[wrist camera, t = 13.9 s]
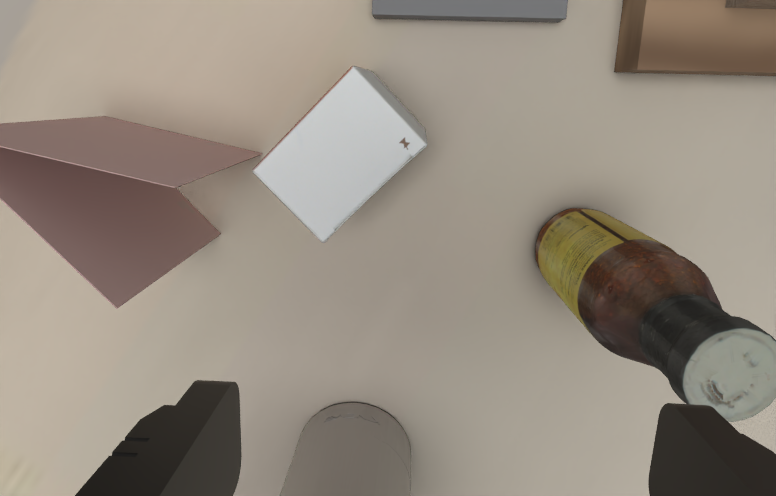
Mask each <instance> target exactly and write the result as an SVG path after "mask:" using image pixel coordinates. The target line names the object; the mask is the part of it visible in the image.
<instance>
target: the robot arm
mask: <svg viewBox="0 0 776 496" xmlns="http://www.w3.org/2000/svg"><path fill="white" fill-rule="evenodd" d="M240 467H241V428H240V398H239V388H238V385H237V383H236V382H223V381H202V380H196V381H195V382H194V383H193V384H192V385H191V386H190V388H189V389H188V390H187V392H186V393H185V394H184V395H183V397H182V398H181V399H180V400H179V402H178V403H177V404H176V406H172V405H164V406H162V407H160V408H159V409H157V410H155V411H154V412H152V413H150V414H149V415H147V416H145V417H144V418H142V419H140V421H139V422H138V423H137V424H136V425H135V426H134V428H133V429H132V430H131V431H130V432H129V433H128V435H127V436H126V437H125V441H122V442H121V443H120V444H119V445H118V446H117V447H116V449H115V450H114V451H113V452H112V456H109V457H108V458H107V459H106V460H105V461H104V462H103V464H102V465H101V466H100V467H99V468H98V469H97V471H96V472H95V473H94V474H93V475H92V476H91V478H90V479H89V480H88V481H87V482H86V483H85V485H84V486H83V487H82V488H81V489H80V490H79V492H78V493H77V494H76V495H75V496H233V494H234V492H235V489H236V486H237V483H238V479H239V474H240ZM410 485H411V449H410V444H409V440H408V438H407V435H406V433H405V431H404V430H403V428H402V427H401V426H400V424H399V423H398V422H397V421H396V420H395V419H394V418H393V417H392V416H390V415H389V414H388V413H386V412H384V411H382V410H381V409H379V408H376V407H373V406H370V405H367V404H361V403H342V404H337V405H333V406H330V407H328V408H326V409H324V410H322V411H320V412H319V413H318V414H316V415H315V416H314V417H312V418H311V420H310V421H309V422H308V423H307V424H306V426H305V427H304V429H303V431H302V434H301V436H300V439H299V442H298V445H297V447H296V450H295V453H294V456H293V459H292V462H291V465H290V467H289V470H288V473H287V476H286V479H285V482H284V485H283V488H282V491H281V494H280V496H410ZM649 494H650V496H776V454H775V453H774V452H773V451H771V450H769V449H767V448H766V447H764V446H762V445H761V444H759V443H757V442H756V441H754V440H752V439H751V438H749V437H747V436H745V435H744V434H740V433H739V432H738V431H737V430H736V429H735V428H734V427H733V426H732V425H731V424H730V423H729V422H728V421H727V420H726V419H725V418H723V417H722V416H721V415H720V414H719V413H718V412H717V411H716V410H715V409H714V408H713V407H711V406H709V405H694V404H672V403H667V404H665V405H664V406H663V407H662V409H661V411H660V414H659V418H658V424H657V430H656V436H655V442H654V448H653V454H652V460H651V466H650V472H649Z"/></svg>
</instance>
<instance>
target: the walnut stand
mask: <svg viewBox="0 0 776 496" xmlns="http://www.w3.org/2000/svg"><path fill="white" fill-rule="evenodd" d="M725 4H726V0H623V7H622V15H621V23H620V31H619V39H618V47H617V55H616V63H615V71H614V72H631V73H673V74H714V75H755V76H776V9H751V8H725Z"/></svg>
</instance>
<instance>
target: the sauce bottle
mask: <svg viewBox="0 0 776 496" xmlns="http://www.w3.org/2000/svg"><path fill="white" fill-rule="evenodd" d="M535 253H536V261H537V264H538V267H539V268H540V271H541V273H542V275H543V277H544V279H545V280H546V281H547V283H548V284H549V285H550V286H551V288H552V289H553V290H554V291H555V292H556V293H557V295H558V296H559V297H560V298H561V299H562V300H563V301H564V303H565V304H566V305H567V306H568V308H569V309H570V310H571V311H572V312H573V314H574V315H575V316H576V317H577V318H578V319H579V320H580V322H581V323H582V324H583V325H584V326H585V327H586V329H587V330H588V331H589V332H590V333H591V334H592V336H593V337H594V338H595V339H596V340H597V341H598V342H599V343H600V344H601V345H602V346H604V347H605V348H607V349H608V350H609V351H611V352H613V353H615V354H617V355H619V356H621V357H624V358H627V359H631V360H634V361H637V362H640V363H644V364H647V365H650V366H653V367H656V368H657V369H659V370H660V371H661V372H662V373H663V374H664V375H665V376H666V377H667V378H668V380H669V382H670V385H671V387H672V389H673V390H674V392H675V393H676V394H677V396H678V397H679V398H680V399H681V400H683V401H684V402H685V403H686V404H694V405H709V406H711V407H713V408H714V409H715V410H716V411H717V412H718V413H719V414H720V415H721V416H722V417H723V418H725V419H726V420H727V421H730V422H734V421H740V420H744V419H747V418H750V417H753V416H754V415H756V414H758V413H759V412H761V411H762V410H763V409H765V408H766V407H767V406H769V405H770V404H771V403H772V402H773V400H774V399H775V398H776V340H775V339H774V338H773V337H772V336H771V335H770V334H768V333H766V332H765V331H763V330H762V329H761V328H759V327H758V326H756V325H754V324H753V323H751V322H749V321H748V320H745V319H743V318H740V317H735V316H734V317H732V316H730V315H729V314H728V313H726V312H725V311H723V310H722V307H721V305H720V302H719V300H718V298H717V296H716V294H715V292H714V290H713V287H712V285H711V283H710V281H709V279H708V277H707V276H706V274H705V273H704V272H703V271H702V270H701V269H700V268H699V267H698V266H697V265H695V264H693V263H692V262H691V261H689V260H688V259H686V258H685V257H683V256H680V255H678V254H677V253H676V252H674V251H673V250H672V249H671V248H669V247H668V246H666V245H664V244H662V243H660V242H658V241H656V240H654V239H653V238H651V237H649V236H647V235H645V234H643V233H641V232H639V231H638V230H636V229H634V228H632V227H630V226H628V225H626V224H624V223H622V222H621V221H619V220H617V219H615V218H613V217H611V216H609V215H607V214H605V213H603V212H600V211H596V210H590V209H583V208H580V209H577V208H573V209H568V210H565V211H563V212H560V213H558V214H557V215H555V216H554V217H553V218H552V219H551V220H550V221H549V222H547V223H546V224H545V226H544V227H543V228H542V229H541V231H540V232H539V236H538V238H537V243H536V248H535Z"/></svg>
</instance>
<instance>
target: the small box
mask: <svg viewBox="0 0 776 496" xmlns="http://www.w3.org/2000/svg"><path fill="white" fill-rule="evenodd" d="M426 147H427V138H426V131H425V128H424V127H423V126H422V125H421V124H420V123H419V122H418V121H417V119H416V118H415V117H414V116H413V115H412V114H411V113H410V112H409V110H408V109H407V108H406V107H405V106H404V105H403V104H402V103H401V102H400V101H399V100H398V99H397V97H396V96H395V95H394V94H393V93H392V92H391V91H390V90H389V89H388V88H387V87H386V86H385V85H384V84H383V82H382V81H381V80H380V79H379V78H378V77H377V76H376V75H375V74H374V73H373V72H372V71H370V70H367V69H363V68H360V67H356V66H352V67H351V68H350V69H349V70H348V71H347V72H346V73H345V74H344V75H343V76H342V77H341V78H340V79H339V80H338V81H337V82H336V83H335V85H334V86H333V87H332V88H331V89H330V90H329V91H328V92H327V93H326V94H325V95H324V96H323V97H322V98H321V99H320V100H319V101H318V102H317V103H316V104H315V105H314V106H313V107H312V108H311V109H310V110H309V111H308V112H307V113H306V115H305V116H304V117H303V118H302V119H301V120H300V121H299V122H298V123H297V124H296V125H295V126H294V127H293V128H292V129H291V130H290V131H289V132H288V133H287V134H286V135H285V136H284V137H283V138H282V140H281V141H280V142H279V143H278V144H277V145H276V146H275V147H274V148H273V149H272V150H271V151H270V152H269V153H268V154H267V155H266V156H265V157H264V158H263V159H262V160H261V161H260V162H259V163H258V164H257V165H256V167H255V168H254V169H253V170H252V172H253V173H254V174H255V175H256V176H257V177H258V178H259V179H260V180H261V181H262V182H263V183H264V184H265V185H266V186H267V187H268V188H269V190H270V191H271V192H272V193H273V194H274V195H275V196H276V197H277V198H278V199H279V200H280V201H281V202H282V203H283V204H284V205H285V206H286V207H287V208H288V209H289V210H290V211H291V212H292V213H293V214H294V215H295V216H296V217H297V218H298V219H299V220H300V221H301V222H302V223H303V224H304V225H305V226H306V227H307V228H308V229H309V230H310V231H311V232H312V233H313V234H314V235H315V236H316V237H317V238H318V239H319V240H320V241H321V242H322V243H325V242H326V241H327V240H328V239H329V238H330V237H331V236H332V235H333V234H334V233H335V232H336V231H337V230H338V229H339V227H340V226H341V225H343V224H344V223H345V222H346V221H347V220H348V219H349V218H350V217H351V216H352V215H353V214H354V213H355V212H356V211H357V210H358V209H359V208H360V207H361V206H362V205H363V204H364V203H365V202H366V201H367V200H368V199H369V198H371V197H372V196H373V195H374V194H375V193H376V192H377V191H378V190H379V189H380V188H381V187H382V186H383V185H384V184H385V183H386V182H387V181H388V180H390V179H391V178H392V177H393V176H394V175H395V174H396V173H397V172H398V171H399V170H400V169H401V168H402V167H404V166H405V165H406V164H407V163H408V162H409V161H410V160H412V159H413V158H414V157H415V156H416V155H417V154H418V153H420V152H421V151H422V150H423V149H424V148H426Z"/></svg>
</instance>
